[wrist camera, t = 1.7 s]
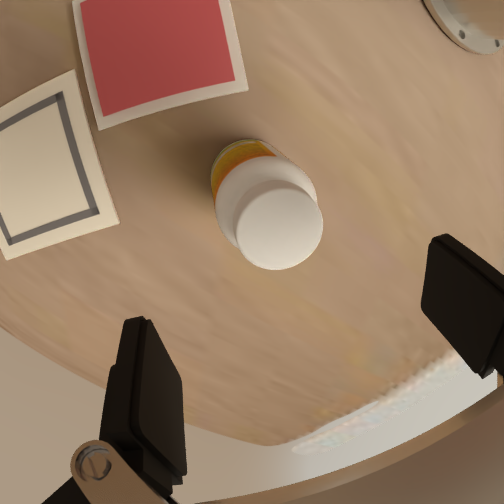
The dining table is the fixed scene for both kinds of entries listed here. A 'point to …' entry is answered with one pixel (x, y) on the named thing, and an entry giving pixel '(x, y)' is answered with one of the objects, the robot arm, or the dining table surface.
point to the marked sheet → (49, 170)
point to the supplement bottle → (265, 205)
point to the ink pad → (156, 55)
